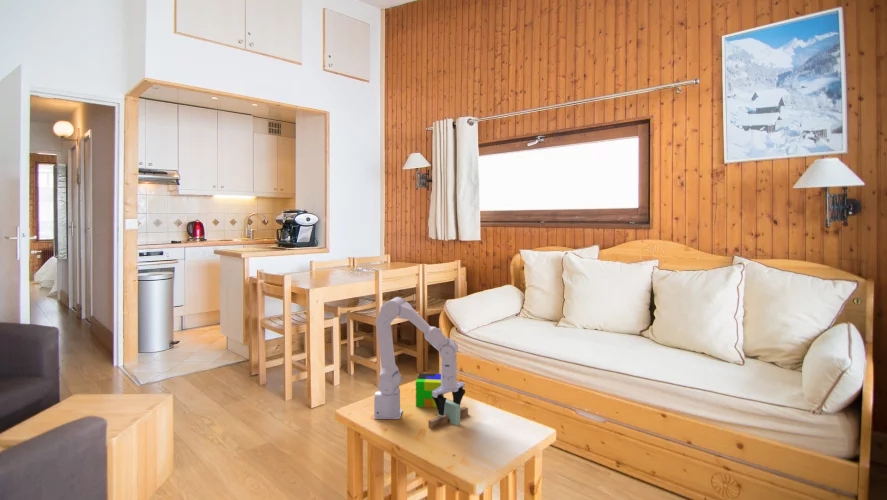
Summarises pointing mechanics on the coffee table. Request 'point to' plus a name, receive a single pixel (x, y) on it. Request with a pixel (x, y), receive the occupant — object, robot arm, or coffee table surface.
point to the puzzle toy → (426, 389)
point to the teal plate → (452, 412)
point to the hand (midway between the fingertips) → (448, 411)
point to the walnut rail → (445, 418)
